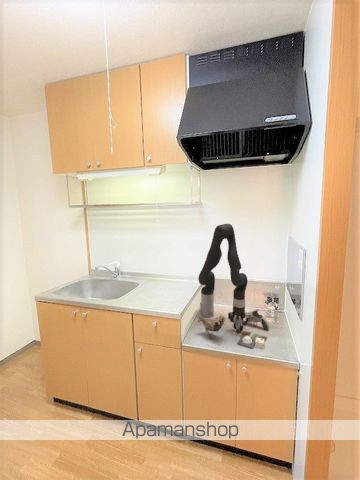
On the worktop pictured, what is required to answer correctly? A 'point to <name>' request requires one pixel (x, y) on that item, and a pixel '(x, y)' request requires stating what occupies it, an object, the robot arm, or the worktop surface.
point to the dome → (247, 340)
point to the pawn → (238, 326)
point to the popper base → (246, 344)
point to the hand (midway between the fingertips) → (238, 329)
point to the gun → (256, 319)
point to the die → (259, 343)
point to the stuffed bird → (212, 323)
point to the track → (251, 335)
